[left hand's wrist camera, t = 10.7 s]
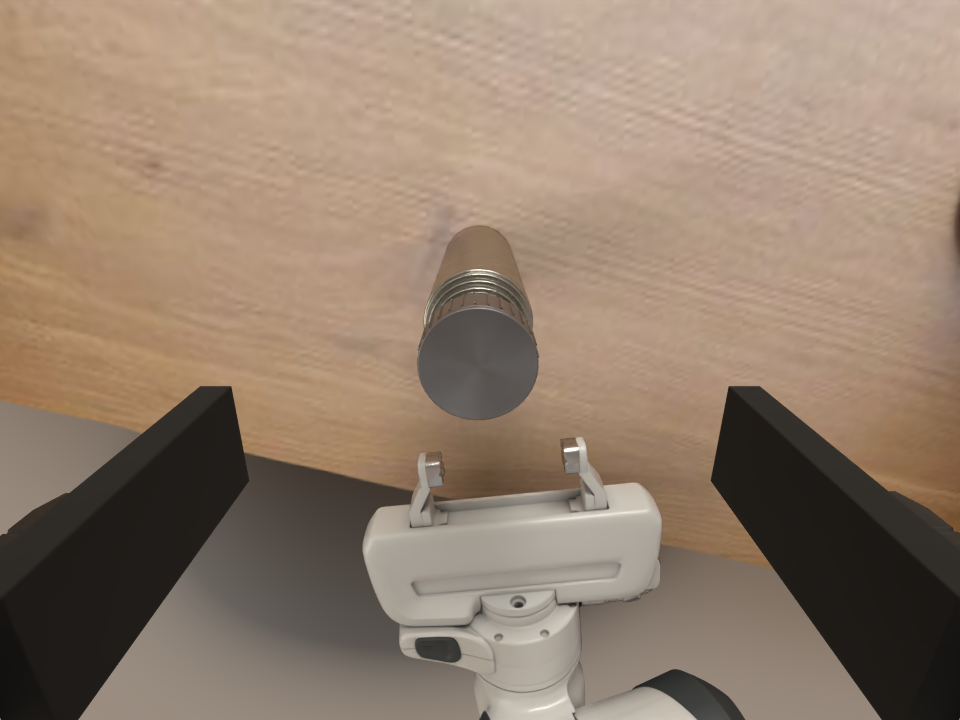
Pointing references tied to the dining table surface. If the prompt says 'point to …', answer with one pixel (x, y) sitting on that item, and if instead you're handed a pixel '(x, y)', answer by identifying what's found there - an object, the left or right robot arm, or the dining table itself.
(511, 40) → the dining table surface
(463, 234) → the bottle
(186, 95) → the dining table surface
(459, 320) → the cap
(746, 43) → the dining table surface
